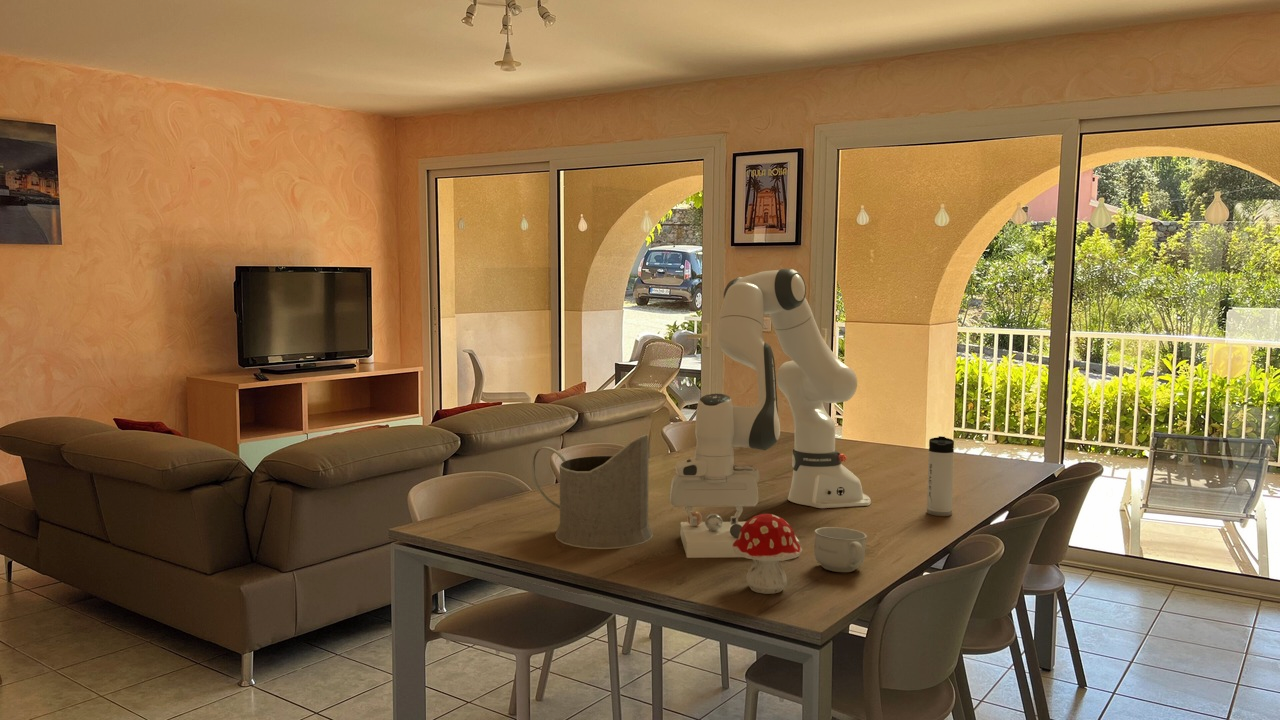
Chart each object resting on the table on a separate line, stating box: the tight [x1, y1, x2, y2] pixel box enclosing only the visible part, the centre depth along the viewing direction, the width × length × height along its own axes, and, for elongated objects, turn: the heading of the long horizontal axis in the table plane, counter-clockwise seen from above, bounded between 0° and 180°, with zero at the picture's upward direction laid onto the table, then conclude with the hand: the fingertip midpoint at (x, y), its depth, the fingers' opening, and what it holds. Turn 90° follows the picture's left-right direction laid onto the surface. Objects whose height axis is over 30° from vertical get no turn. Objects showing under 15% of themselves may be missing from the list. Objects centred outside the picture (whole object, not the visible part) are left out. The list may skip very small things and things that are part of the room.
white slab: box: [680, 521, 800, 559], centre depth 212 cm, size 25×17×4 cm
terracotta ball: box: [686, 510, 703, 526], centre depth 216 cm, size 4×4×4 cm
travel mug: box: [926, 435, 955, 517], centre depth 241 cm, size 6×7×20 cm
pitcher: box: [531, 434, 654, 550], centre depth 222 cm, size 23×32×25 cm
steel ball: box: [704, 513, 724, 531], centre depth 212 cm, size 4×4×4 cm
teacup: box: [813, 526, 868, 573], centre depth 194 cm, size 14×11×8 cm
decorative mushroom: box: [732, 513, 803, 595], centre depth 182 cm, size 14×14×15 cm
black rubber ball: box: [730, 524, 742, 538], centre depth 206 cm, size 3×3×3 cm
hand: (713, 524), depth 212 cm, fingers open, 8 cm apart
